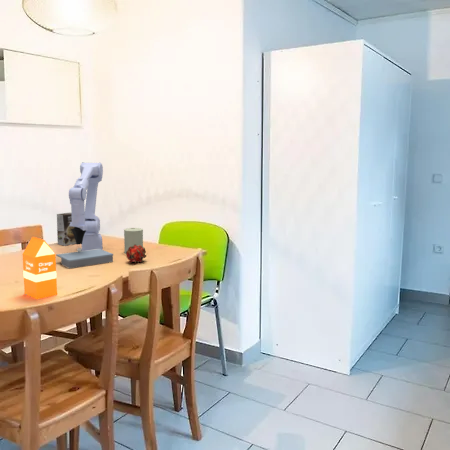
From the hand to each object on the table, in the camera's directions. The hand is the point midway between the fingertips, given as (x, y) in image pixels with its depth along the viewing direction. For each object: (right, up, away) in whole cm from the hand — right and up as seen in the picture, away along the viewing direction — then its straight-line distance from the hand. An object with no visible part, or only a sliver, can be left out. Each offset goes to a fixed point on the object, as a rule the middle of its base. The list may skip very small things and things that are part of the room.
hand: (79, 244), depth 222 cm
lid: (+4, -5, -4) cm, 7 cm away
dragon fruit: (+26, -8, -2) cm, 27 cm away
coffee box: (-16, -2, +36) cm, 40 cm away
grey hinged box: (+5, -8, -5) cm, 11 cm away
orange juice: (+2, -16, -50) cm, 53 cm away
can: (+22, -5, +17) cm, 28 cm away
